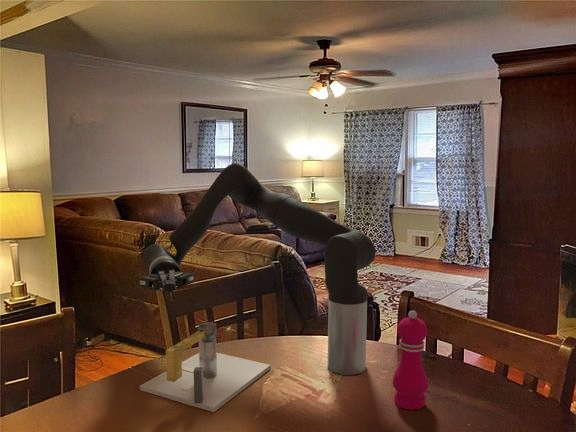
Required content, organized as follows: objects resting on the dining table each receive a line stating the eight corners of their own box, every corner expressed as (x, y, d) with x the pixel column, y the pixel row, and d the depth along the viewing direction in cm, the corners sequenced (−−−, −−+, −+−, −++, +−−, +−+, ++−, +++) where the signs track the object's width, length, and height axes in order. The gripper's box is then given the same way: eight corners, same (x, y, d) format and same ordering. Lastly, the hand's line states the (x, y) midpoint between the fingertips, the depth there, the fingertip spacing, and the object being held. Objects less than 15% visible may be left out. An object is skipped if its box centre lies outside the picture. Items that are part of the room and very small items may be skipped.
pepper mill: (428, 413, 99) (432, 317, 97) (392, 409, 101) (395, 315, 98) (426, 396, 106) (429, 306, 104) (391, 393, 108) (394, 304, 105)
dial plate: (204, 353, 129) (203, 323, 128) (270, 368, 120) (270, 337, 119) (138, 390, 108) (137, 356, 108) (212, 413, 99) (211, 375, 98)
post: (206, 369, 117) (206, 335, 116) (220, 373, 115) (219, 338, 114) (196, 376, 113) (195, 341, 112) (210, 380, 112) (209, 344, 110)
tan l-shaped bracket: (204, 349, 116) (204, 321, 115) (219, 351, 115) (219, 323, 114) (162, 379, 100) (161, 347, 100) (178, 382, 99) (178, 350, 98)
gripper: (136, 260, 123) (137, 274, 107) (190, 256, 127) (199, 269, 110) (138, 289, 124) (139, 308, 107) (191, 284, 128) (200, 301, 111)
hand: (169, 288), depth 109 cm, fingers closed
